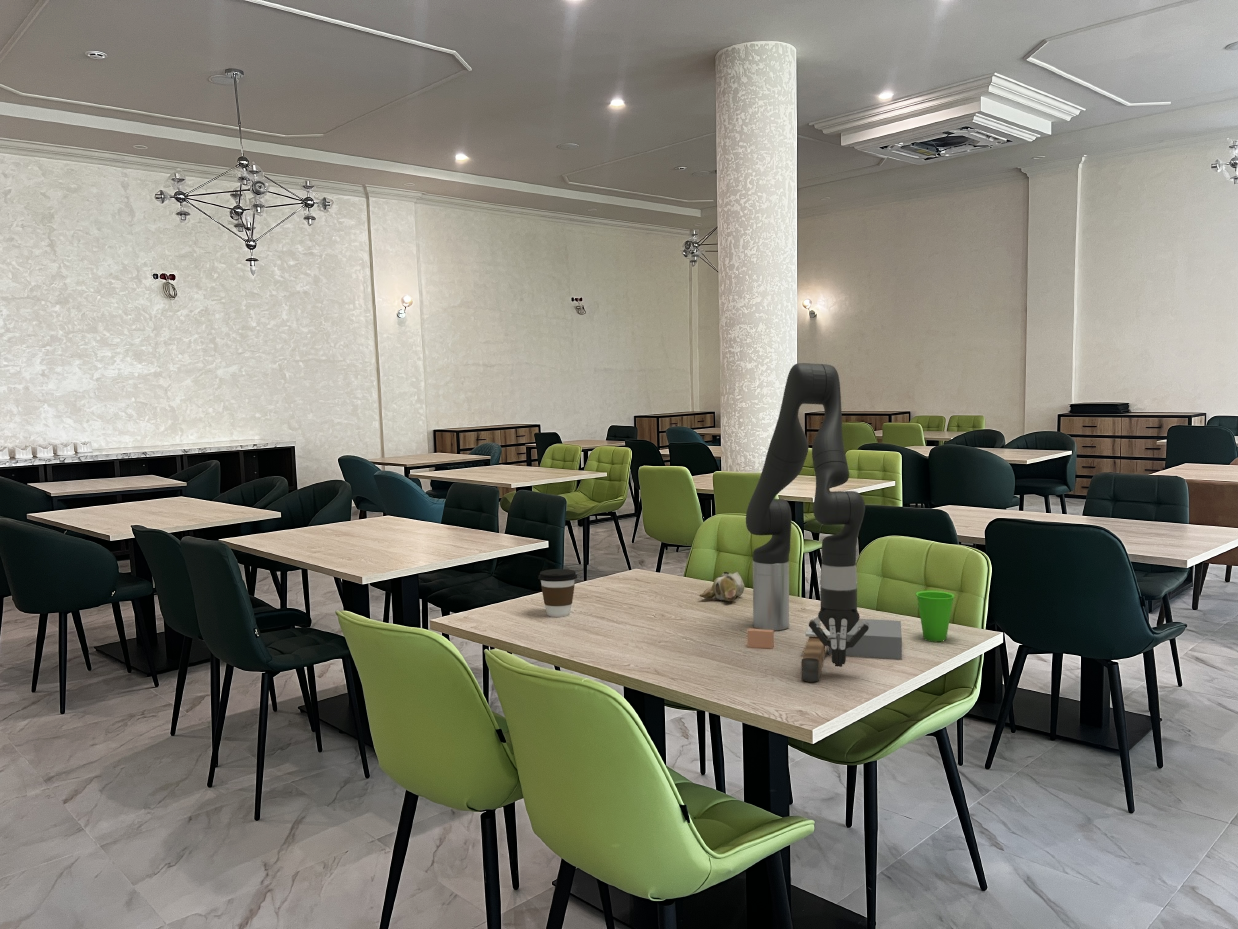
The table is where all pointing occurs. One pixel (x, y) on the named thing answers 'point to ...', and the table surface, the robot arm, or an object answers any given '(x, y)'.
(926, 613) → the cup
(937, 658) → the table surface
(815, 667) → the leg
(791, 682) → the table surface
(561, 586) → the coffee cup
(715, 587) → the ceramic sculpture
